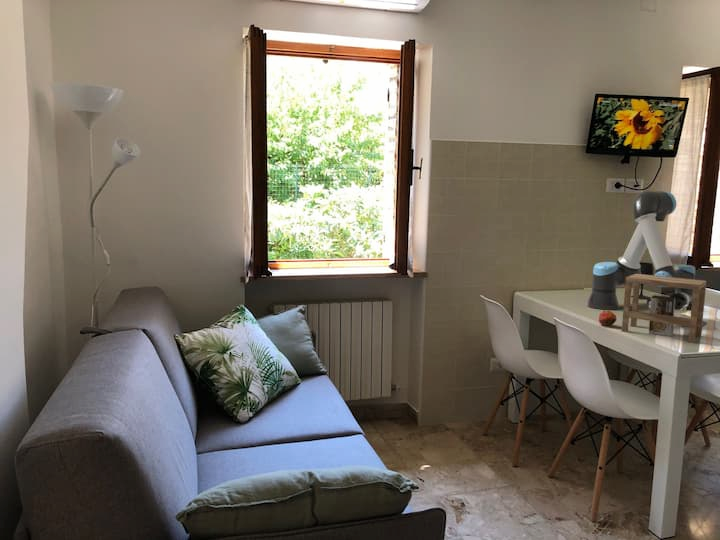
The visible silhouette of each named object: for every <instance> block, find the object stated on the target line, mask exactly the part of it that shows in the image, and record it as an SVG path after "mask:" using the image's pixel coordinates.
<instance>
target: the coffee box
mask: <svg viewBox="0 0 720 540" xmlns="http://www.w3.org/2000/svg"><path fill="white" fill-rule="evenodd" d="M675 298H676V297H670V296H664V295H656V294H655V295H654V294H653V295H652V296H651V308H649V310H650V312H649V313H653V314H661V315H668V316H675V310H676V309H675ZM648 323H649V325H648V326H649V327H648V334H650V335H658V336H659V335H660V336H665V337H666V336H667V337H672V336H673V335H674V324H669V323H662V322H655V321H648Z"/></svg>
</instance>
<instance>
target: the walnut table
mask: <svg viewBox="0 0 720 540" xmlns="http://www.w3.org/2000/svg"><path fill="white" fill-rule="evenodd" d="M654 275H655V274H653V275H644V274H634V275H631V276H629V277H626V284H625V286H624V298H623V311H622V312H623V313H622V322H621V323H622V324H621V332H625V333H627V332H629V325H630V327H637V325H638V324H637V322H638V320H643V321H648V322H650V321H655V322H662V323H669V324H673V325H676V326H682V327H683V326H684V327H688V328H689V329H688V330H689V331H688V340H687V342H688V343H691V344H695V342H696V337H698V338H701V337H702V333H703V331H702V330H703V322H704V310H705V301H706V292H707V291H706V290H707V282H708V281H707V280H703V279H695V280H694V279H684V278H674V277H664V276H654ZM632 283H634V284H632ZM641 284H644V285H650V286H657V287H659V286H666V287H665V288H675V289H676V288H684V289H693V297H692V307H691V311H690V318H687V317H683V316H681V317H680V316H675V315H674V316H668V315H661V314H653V313H650V312H646V311H639V309H638V308H639V300H640V299H639V295H640V290H641ZM632 285H633V288H632ZM632 290H633V292H632ZM631 293H632V294H631ZM631 296H633V298H632V297H631ZM631 298H632V304H631ZM630 309H631V310H630ZM629 319H630V320H629ZM629 321H630V324H629Z"/></svg>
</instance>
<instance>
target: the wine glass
mask: <svg viewBox="0 0 720 540" xmlns="http://www.w3.org/2000/svg"><path fill="white" fill-rule="evenodd" d="M639 264H640V266H641V267H640V270H641V271H640V273H641V274H644V275H654V264H653V262H652V263H651V262H643V261H642V262H641V261H640V262H639ZM644 285H645V284H640V291H639V300H647V299H650V298H652V296H651V297H650V296H647V295H644V294H643V293H644V292H643V291H644V289H643V288H644ZM632 297H633V295H631V298H632Z"/></svg>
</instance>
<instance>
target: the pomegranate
mask: <svg viewBox="0 0 720 540" xmlns="http://www.w3.org/2000/svg"><path fill="white" fill-rule="evenodd" d="M616 322H617V316H616V315H615V313H614V312H613V311H612V310H611V311H610V310H603V311H602V312H601V313H600V314H599V317H598V323H599V324H600V325H601V326H605V327H606V326H608V327H609V328H611V326H613V325H614V324H615V323H616Z"/></svg>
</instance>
